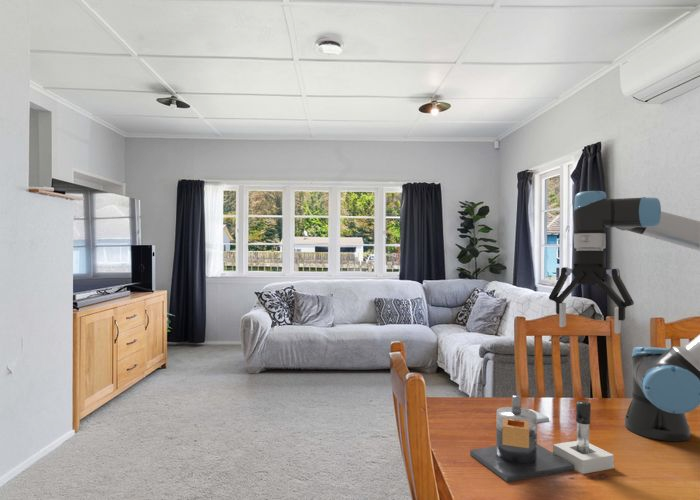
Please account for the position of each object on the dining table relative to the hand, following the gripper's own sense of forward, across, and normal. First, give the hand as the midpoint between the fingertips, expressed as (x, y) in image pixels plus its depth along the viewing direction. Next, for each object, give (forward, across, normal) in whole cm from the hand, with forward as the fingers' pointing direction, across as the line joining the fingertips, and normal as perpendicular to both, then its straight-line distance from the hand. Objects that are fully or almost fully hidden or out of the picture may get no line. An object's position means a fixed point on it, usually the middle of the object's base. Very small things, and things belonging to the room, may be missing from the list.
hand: (589, 329), depth 123 cm
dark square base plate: (+29, -6, -27) cm, 40 cm away
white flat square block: (+29, +4, -17) cm, 33 cm away
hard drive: (+29, -19, +2) cm, 35 cm away
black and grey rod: (+29, +4, -17) cm, 33 cm away
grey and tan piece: (+21, -7, -29) cm, 37 cm away
